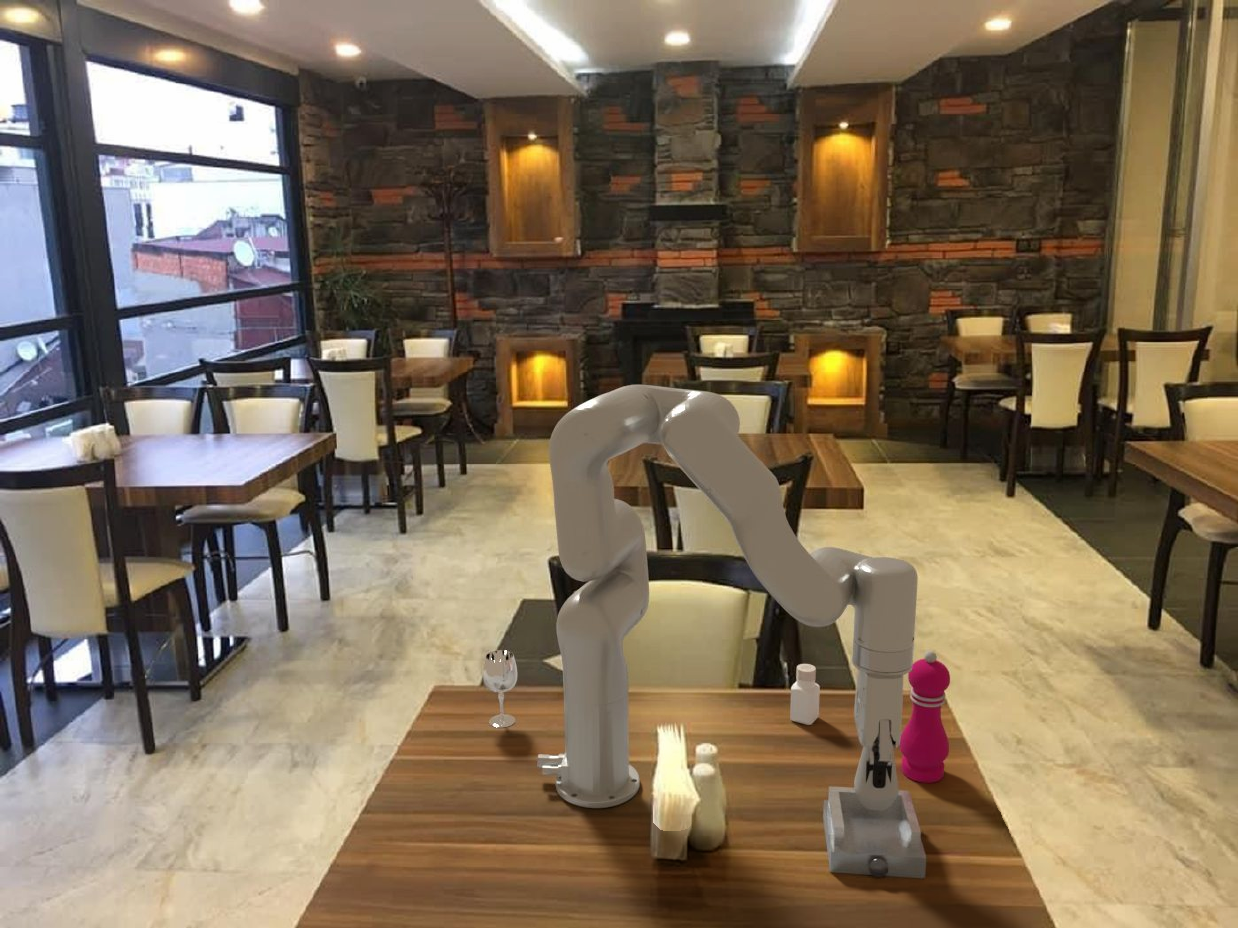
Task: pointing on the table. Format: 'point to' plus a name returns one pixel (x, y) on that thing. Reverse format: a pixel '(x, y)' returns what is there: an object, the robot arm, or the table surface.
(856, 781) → the salt shaker
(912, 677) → the pepper mill
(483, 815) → the table surface
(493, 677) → the wineglass
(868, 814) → the grey square tray
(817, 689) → the salt shaker
